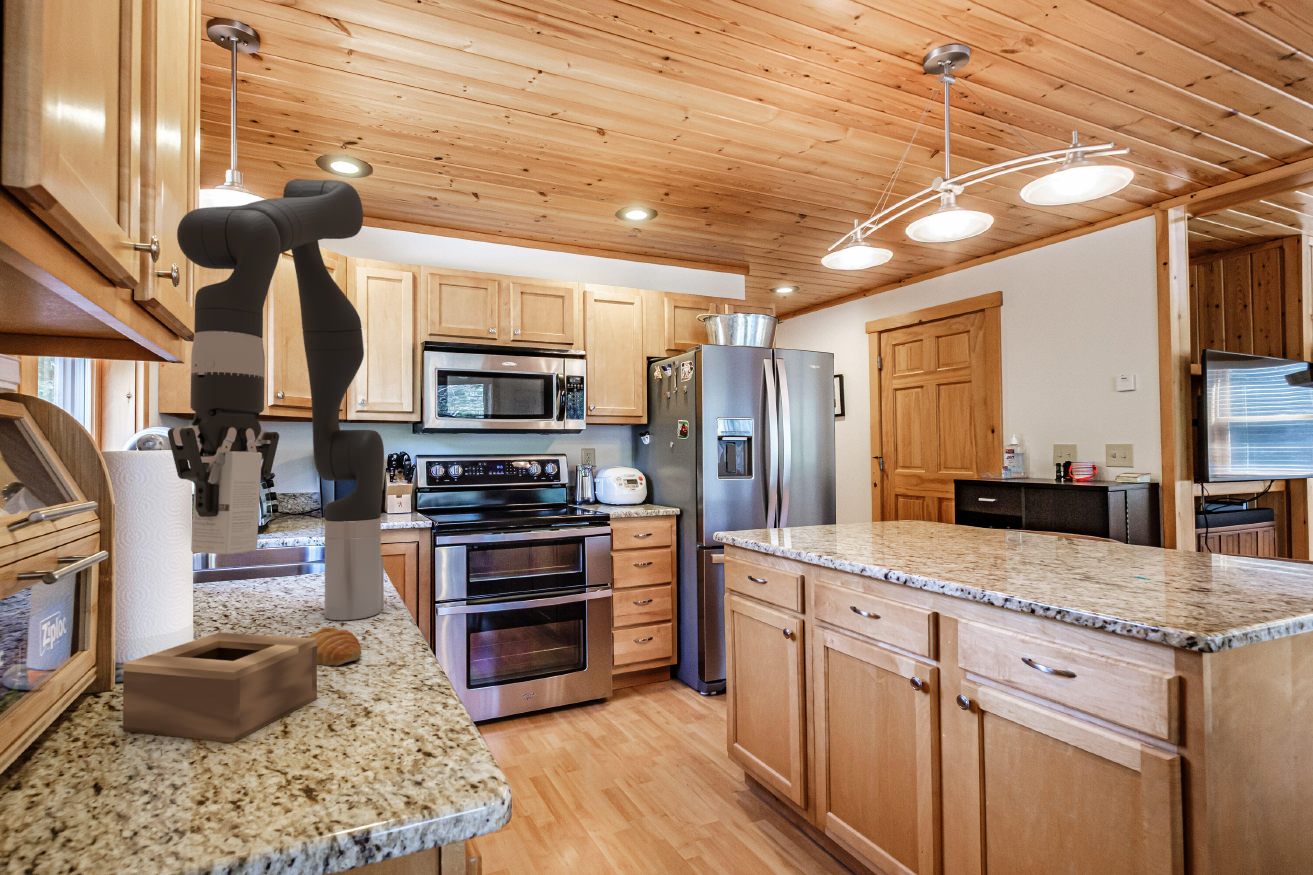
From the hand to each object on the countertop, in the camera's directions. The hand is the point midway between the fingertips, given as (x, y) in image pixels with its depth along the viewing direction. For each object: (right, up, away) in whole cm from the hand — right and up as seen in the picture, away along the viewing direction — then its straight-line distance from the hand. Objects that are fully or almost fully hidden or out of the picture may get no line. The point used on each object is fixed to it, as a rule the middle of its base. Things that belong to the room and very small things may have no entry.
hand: (226, 513), depth 80 cm
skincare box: (0, -5, 0) cm, 5 cm away
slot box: (+3, -22, -5) cm, 23 cm away
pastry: (+5, -23, +16) cm, 28 cm away
